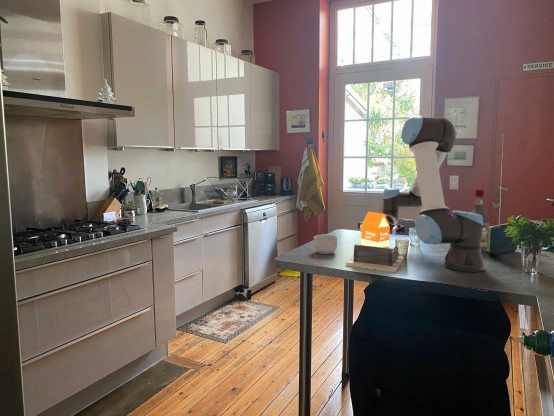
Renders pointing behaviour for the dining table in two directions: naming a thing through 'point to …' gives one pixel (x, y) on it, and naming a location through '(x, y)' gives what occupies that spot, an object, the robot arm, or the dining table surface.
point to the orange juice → (375, 230)
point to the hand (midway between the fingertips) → (376, 230)
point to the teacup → (325, 243)
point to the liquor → (479, 210)
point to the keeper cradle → (376, 258)
